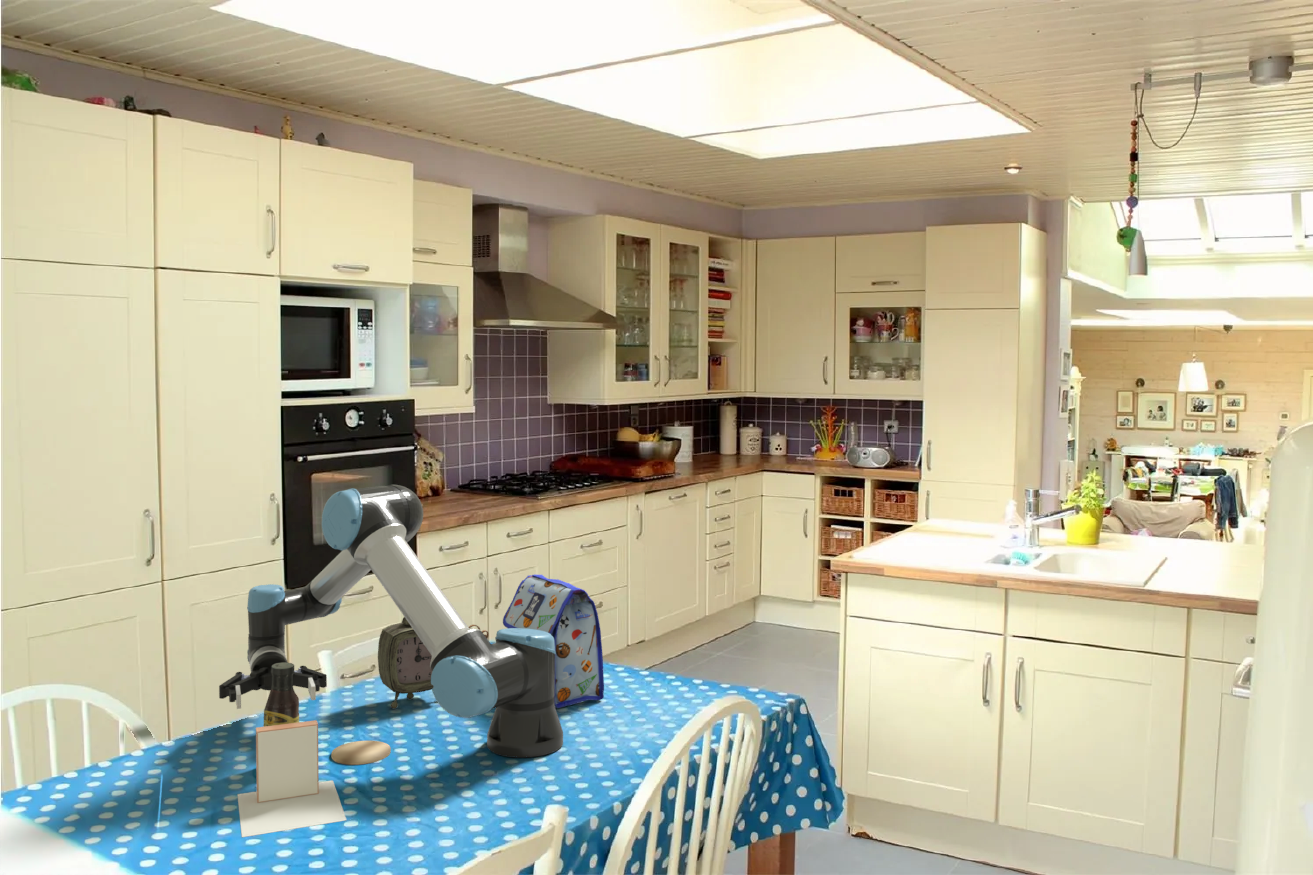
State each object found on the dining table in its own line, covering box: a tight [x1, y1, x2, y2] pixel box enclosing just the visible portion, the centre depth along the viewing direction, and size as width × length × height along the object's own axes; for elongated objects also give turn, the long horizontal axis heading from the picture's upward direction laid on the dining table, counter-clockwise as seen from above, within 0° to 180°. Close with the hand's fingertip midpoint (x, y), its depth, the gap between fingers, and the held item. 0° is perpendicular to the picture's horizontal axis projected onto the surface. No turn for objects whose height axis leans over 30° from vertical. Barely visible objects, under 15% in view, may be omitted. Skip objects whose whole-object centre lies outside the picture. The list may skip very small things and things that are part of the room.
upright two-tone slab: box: [255, 719, 320, 803], centre depth 178 cm, size 2×10×12 cm, turn 114°
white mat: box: [237, 780, 347, 838], centre depth 174 cm, size 18×16×1 cm
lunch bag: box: [502, 574, 605, 709], centre depth 237 cm, size 23×17×27 cm
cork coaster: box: [331, 740, 392, 766], centre depth 198 cm, size 11×11×1 cm
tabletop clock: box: [377, 616, 433, 710], centre depth 230 cm, size 14×9×25 cm, turn 123°
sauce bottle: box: [262, 661, 300, 727], centre depth 190 cm, size 6×6×20 cm
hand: (276, 697), depth 198 cm, fingers open, 13 cm apart
